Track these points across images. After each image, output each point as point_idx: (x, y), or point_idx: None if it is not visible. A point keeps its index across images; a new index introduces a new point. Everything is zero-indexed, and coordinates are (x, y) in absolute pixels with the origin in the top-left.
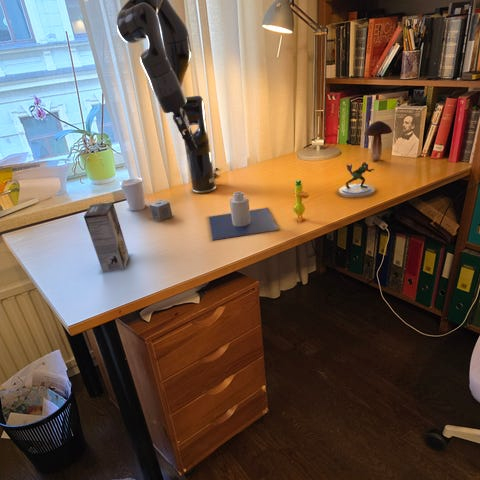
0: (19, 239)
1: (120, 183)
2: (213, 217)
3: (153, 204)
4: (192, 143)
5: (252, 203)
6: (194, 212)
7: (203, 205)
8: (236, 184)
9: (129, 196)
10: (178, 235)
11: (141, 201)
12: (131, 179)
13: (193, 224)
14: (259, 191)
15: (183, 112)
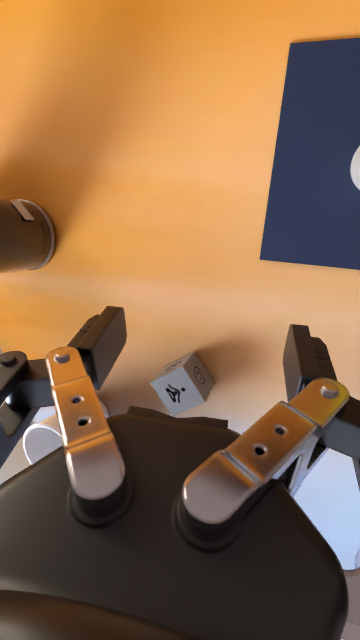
0: None
1: None
2: (273, 247)
3: (177, 407)
4: (330, 363)
5: (209, 97)
6: (194, 291)
7: (150, 258)
8: (14, 130)
9: None
10: (354, 363)
11: None
12: (27, 445)
13: (291, 311)
14: (105, 55)
15: (121, 499)
